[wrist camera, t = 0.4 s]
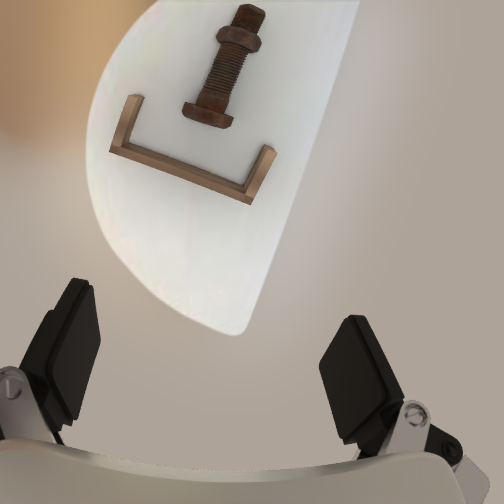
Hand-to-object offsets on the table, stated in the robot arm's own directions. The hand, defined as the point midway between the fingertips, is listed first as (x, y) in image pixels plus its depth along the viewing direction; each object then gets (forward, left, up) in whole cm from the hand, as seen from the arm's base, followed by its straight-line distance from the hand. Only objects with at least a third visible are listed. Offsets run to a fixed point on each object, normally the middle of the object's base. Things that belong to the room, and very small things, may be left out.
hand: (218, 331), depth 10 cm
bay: (0, -4, -29) cm, 29 cm away
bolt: (-11, -4, -29) cm, 31 cm away
